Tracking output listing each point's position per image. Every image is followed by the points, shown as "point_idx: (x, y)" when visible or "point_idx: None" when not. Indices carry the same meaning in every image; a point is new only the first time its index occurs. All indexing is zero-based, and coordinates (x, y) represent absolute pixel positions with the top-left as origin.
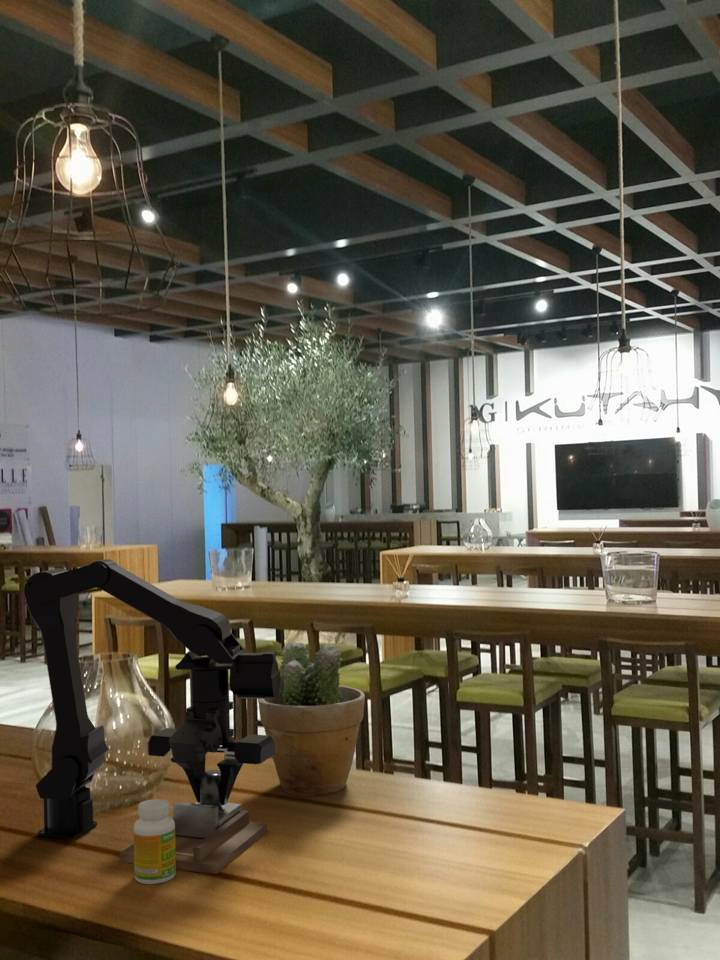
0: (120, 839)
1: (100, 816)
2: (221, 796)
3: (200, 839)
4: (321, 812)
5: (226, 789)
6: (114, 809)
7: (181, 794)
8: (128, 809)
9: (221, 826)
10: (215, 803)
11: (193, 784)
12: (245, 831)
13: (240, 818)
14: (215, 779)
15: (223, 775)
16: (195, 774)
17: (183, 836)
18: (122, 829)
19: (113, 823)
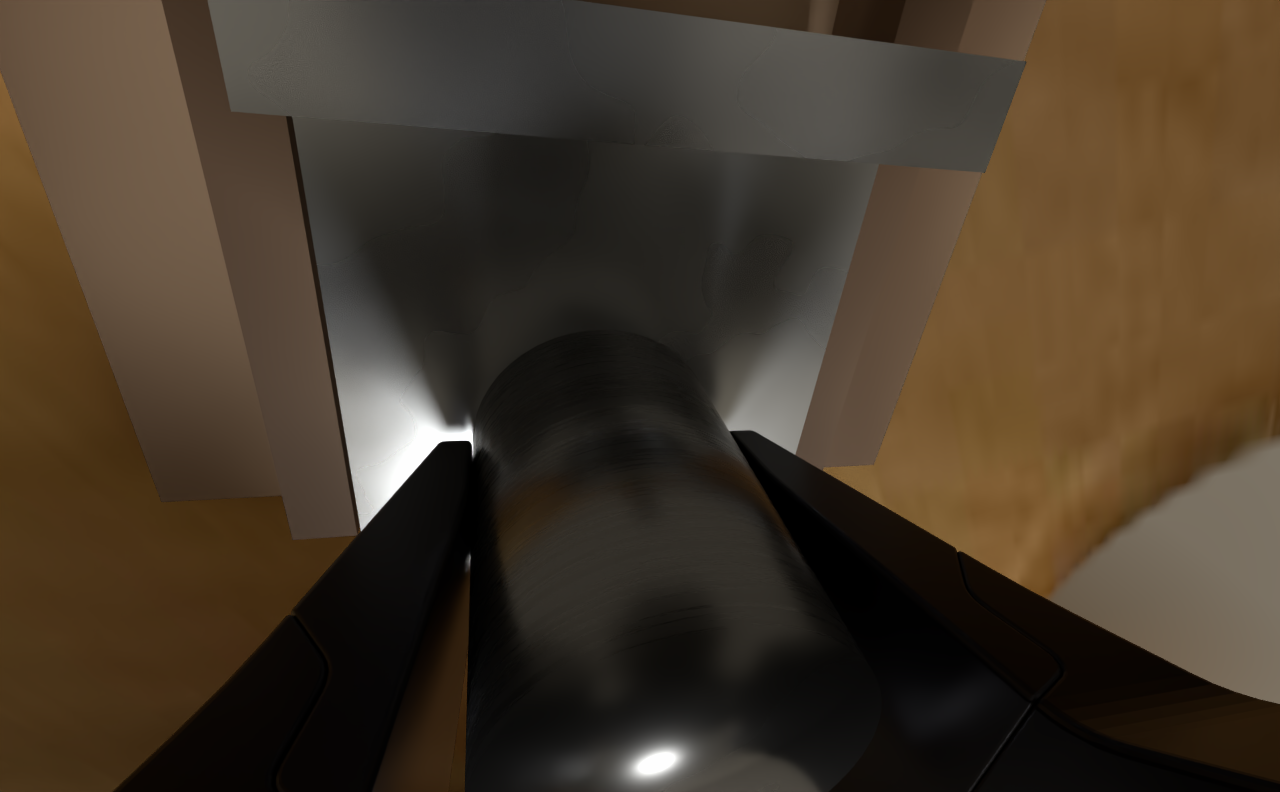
0: (1166, 82)
1: (1251, 389)
2: (452, 490)
3: None
4: (83, 769)
5: (334, 563)
6: (1181, 478)
7: None
8: (1120, 497)
9: None
10: (514, 402)
11: (885, 535)
12: (212, 308)
13: (258, 384)
14: (529, 659)
15: (277, 784)
16: (944, 669)
17: None
18: (1150, 254)
19: (1195, 324)
